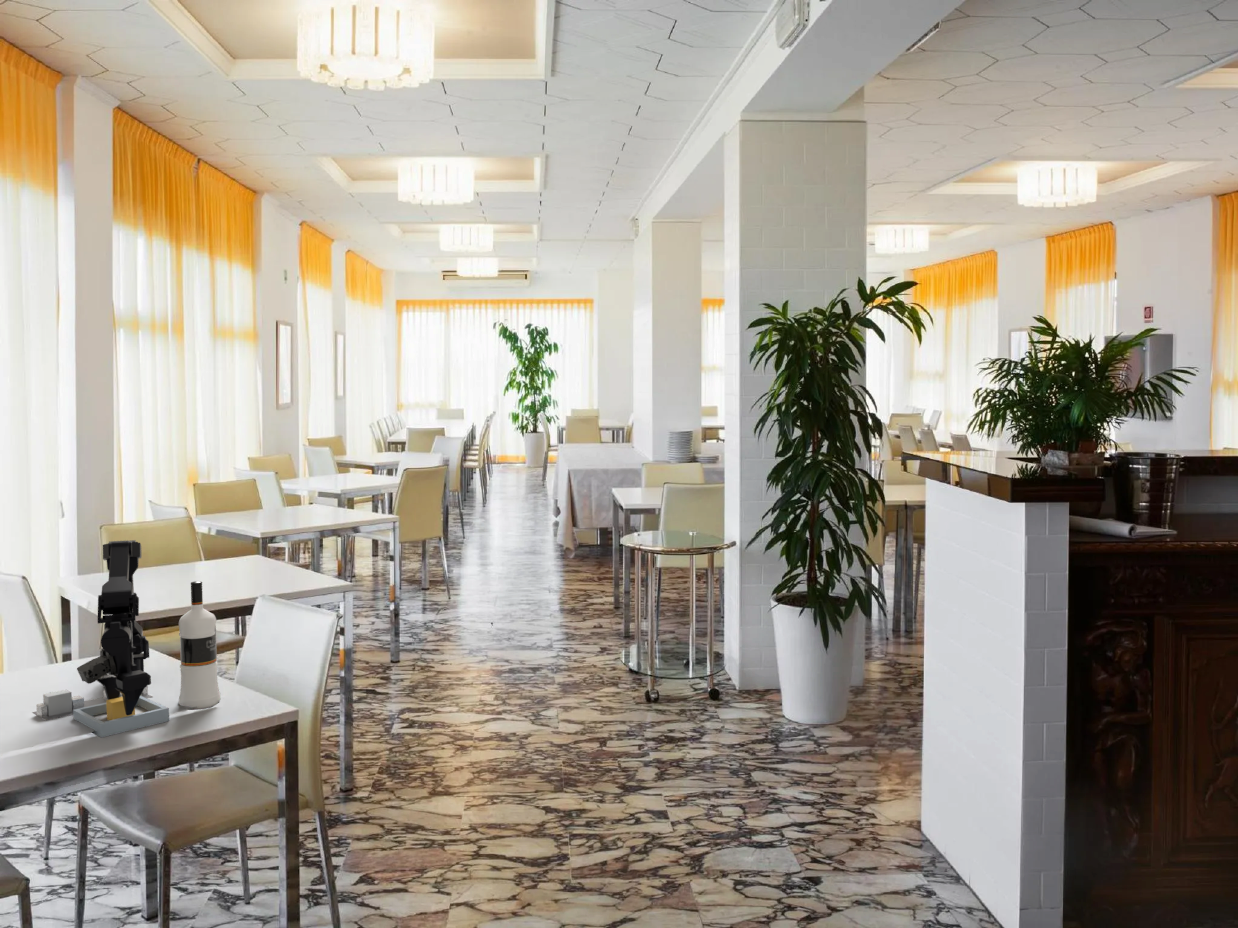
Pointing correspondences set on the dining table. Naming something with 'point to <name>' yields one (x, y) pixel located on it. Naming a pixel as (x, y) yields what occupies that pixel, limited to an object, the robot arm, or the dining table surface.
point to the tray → (123, 724)
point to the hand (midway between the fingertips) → (121, 710)
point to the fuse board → (86, 704)
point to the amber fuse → (116, 709)
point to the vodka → (198, 654)
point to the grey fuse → (58, 702)
